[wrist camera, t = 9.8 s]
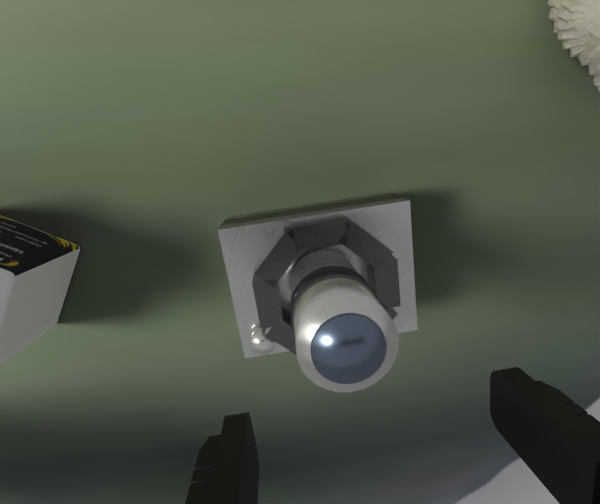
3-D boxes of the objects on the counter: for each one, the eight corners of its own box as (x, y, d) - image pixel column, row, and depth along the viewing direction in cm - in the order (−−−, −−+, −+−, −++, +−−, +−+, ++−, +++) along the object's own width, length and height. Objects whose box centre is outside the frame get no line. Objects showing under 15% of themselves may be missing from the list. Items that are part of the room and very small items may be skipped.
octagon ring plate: (250, 325, 28) (241, 377, 21) (228, 216, 26) (210, 236, 19) (394, 301, 28) (430, 345, 22) (385, 192, 26) (424, 203, 19)
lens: (293, 320, 23) (302, 406, 15) (282, 254, 21) (286, 309, 14) (361, 309, 23) (406, 388, 15) (354, 243, 22) (399, 290, 14)
